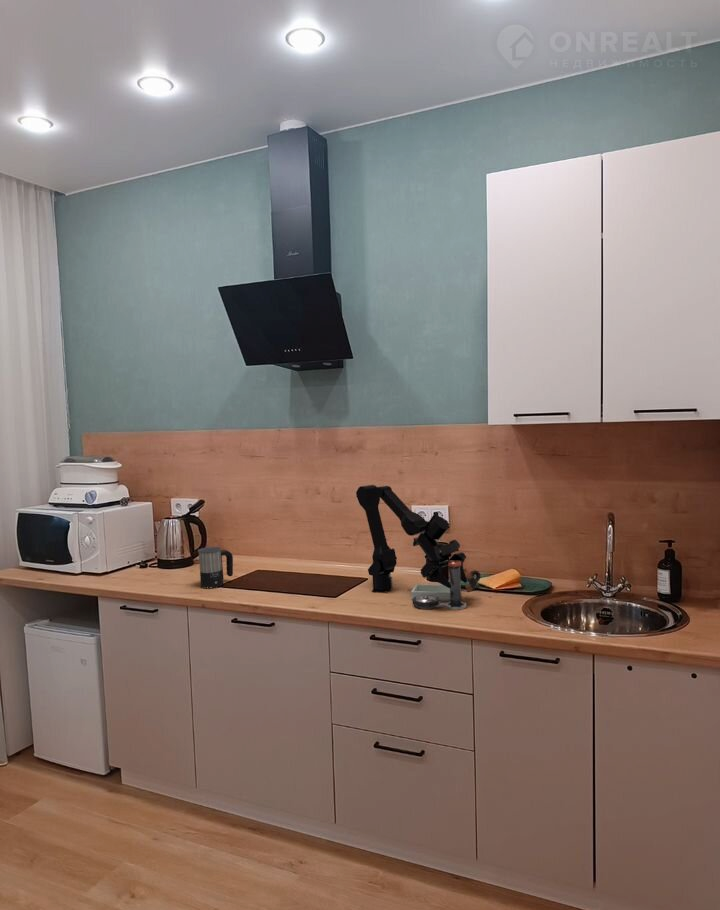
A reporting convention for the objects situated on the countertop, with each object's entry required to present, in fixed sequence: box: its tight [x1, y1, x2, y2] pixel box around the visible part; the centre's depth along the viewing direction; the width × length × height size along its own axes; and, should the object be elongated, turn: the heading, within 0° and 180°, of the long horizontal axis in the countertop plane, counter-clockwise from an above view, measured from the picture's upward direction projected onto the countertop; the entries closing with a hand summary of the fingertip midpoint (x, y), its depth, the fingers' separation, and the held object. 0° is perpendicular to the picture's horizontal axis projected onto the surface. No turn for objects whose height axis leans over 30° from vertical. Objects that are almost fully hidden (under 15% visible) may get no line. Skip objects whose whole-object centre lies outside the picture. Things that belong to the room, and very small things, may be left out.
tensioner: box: [411, 595, 467, 611], centre depth 223 cm, size 18×9×3 cm, turn 76°
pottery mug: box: [448, 568, 481, 593], centre depth 245 cm, size 12×10×8 cm
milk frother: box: [197, 546, 234, 589], centre depth 267 cm, size 14×16×15 cm
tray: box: [410, 583, 450, 602], centre depth 235 cm, size 16×10×3 cm, turn 76°
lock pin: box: [447, 560, 462, 607], centre depth 222 cm, size 4×4×15 cm
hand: (458, 584), depth 221 cm, fingers open, 8 cm apart
